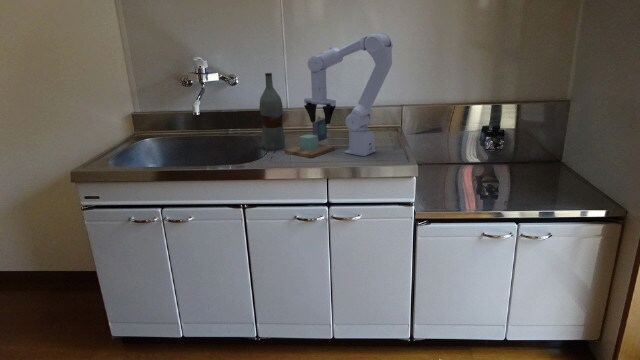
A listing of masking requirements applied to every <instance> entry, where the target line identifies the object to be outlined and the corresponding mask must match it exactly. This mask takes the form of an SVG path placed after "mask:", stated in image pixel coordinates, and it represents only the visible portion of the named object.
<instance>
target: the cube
mask: <svg viewBox="0 0 640 360" xmlns="http://www.w3.org/2000/svg"><path fill="white" fill-rule="evenodd" d="M318 144H319V142H318V136H317V135H313V134H309V133H308V134H303V135H301V136H299V145H300V149H302V150H307V151H311V150H314V149H317V148H318Z"/></svg>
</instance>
